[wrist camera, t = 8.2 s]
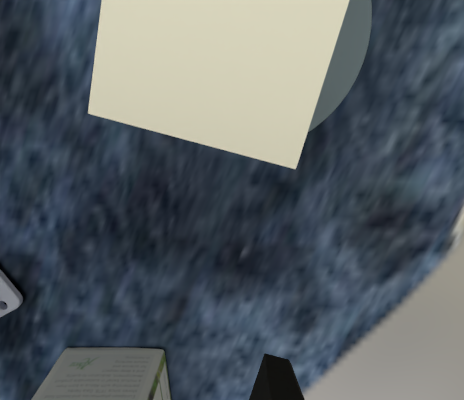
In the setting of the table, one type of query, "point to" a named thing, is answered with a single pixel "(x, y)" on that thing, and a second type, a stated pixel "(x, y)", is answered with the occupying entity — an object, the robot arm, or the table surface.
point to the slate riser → (344, 59)
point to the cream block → (217, 70)
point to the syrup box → (107, 375)
